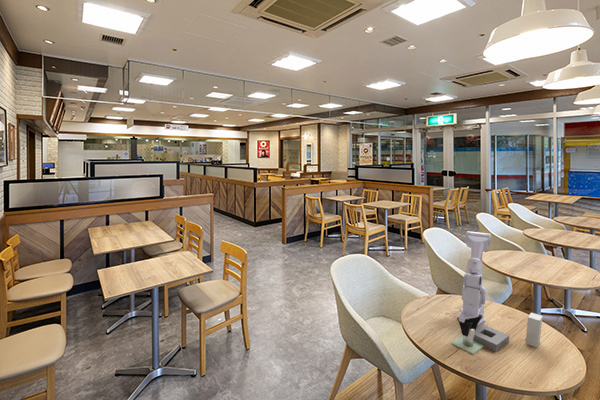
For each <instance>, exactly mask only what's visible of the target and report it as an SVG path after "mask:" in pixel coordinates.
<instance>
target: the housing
mask: <svg viewBox="0 0 600 400" xmlns="http://www.w3.org/2000/svg"><path fill="white" fill-rule="evenodd" d="M474 341H476V342H478V343H480V344H482V345H484V348H487V349H489V350H492V351H493V352H498V351H499V350H500V349H501V348H504V346H506V345H507V344H508V343H509V342H510V335H509V334H508V333H505V332H503V331H501V330H498V329H496V328H493V327H490V326H488V325H485V324H483V323H480V324H478V325H477V328H476V330H475V334H474Z"/></svg>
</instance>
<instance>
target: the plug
mask: <svg viewBox="0 0 600 400" xmlns="http://www.w3.org/2000/svg"><path fill="white" fill-rule="evenodd" d="M474 334H475V329H474V328H473V327H470V330H469V334H468V336H467V337H466V336H464V335H463V344H464V345H465V346H468V347H473V345H474Z"/></svg>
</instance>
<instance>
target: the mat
mask: <svg viewBox="0 0 600 400" xmlns="http://www.w3.org/2000/svg"><path fill="white" fill-rule="evenodd" d="M451 344H452V345H453V346H455V347H458V348H459V349H462V350H463V351H466V352H467V353H469V354H472V355H474V354H476V353H478V352H479V351H480V350H481V349H483V348H485V346H484V345H482V344H480V343H478V342H476V341H474V345H473V347H468V346H465V345H464V344H463V335H462V334H461V336H459V337H458V338H456V339H455V340H453V341H452V342H451Z"/></svg>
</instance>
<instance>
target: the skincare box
mask: <svg viewBox="0 0 600 400" xmlns="http://www.w3.org/2000/svg"><path fill="white" fill-rule="evenodd" d="M542 324H543V315H541V314H538V313H535V312H530V313H529V315H528V317H527V325H526V335H525V344H526V345H529V346H531V347H534V348H538V347H539V345H540V342H541V335H542V333H541V332H542Z"/></svg>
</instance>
